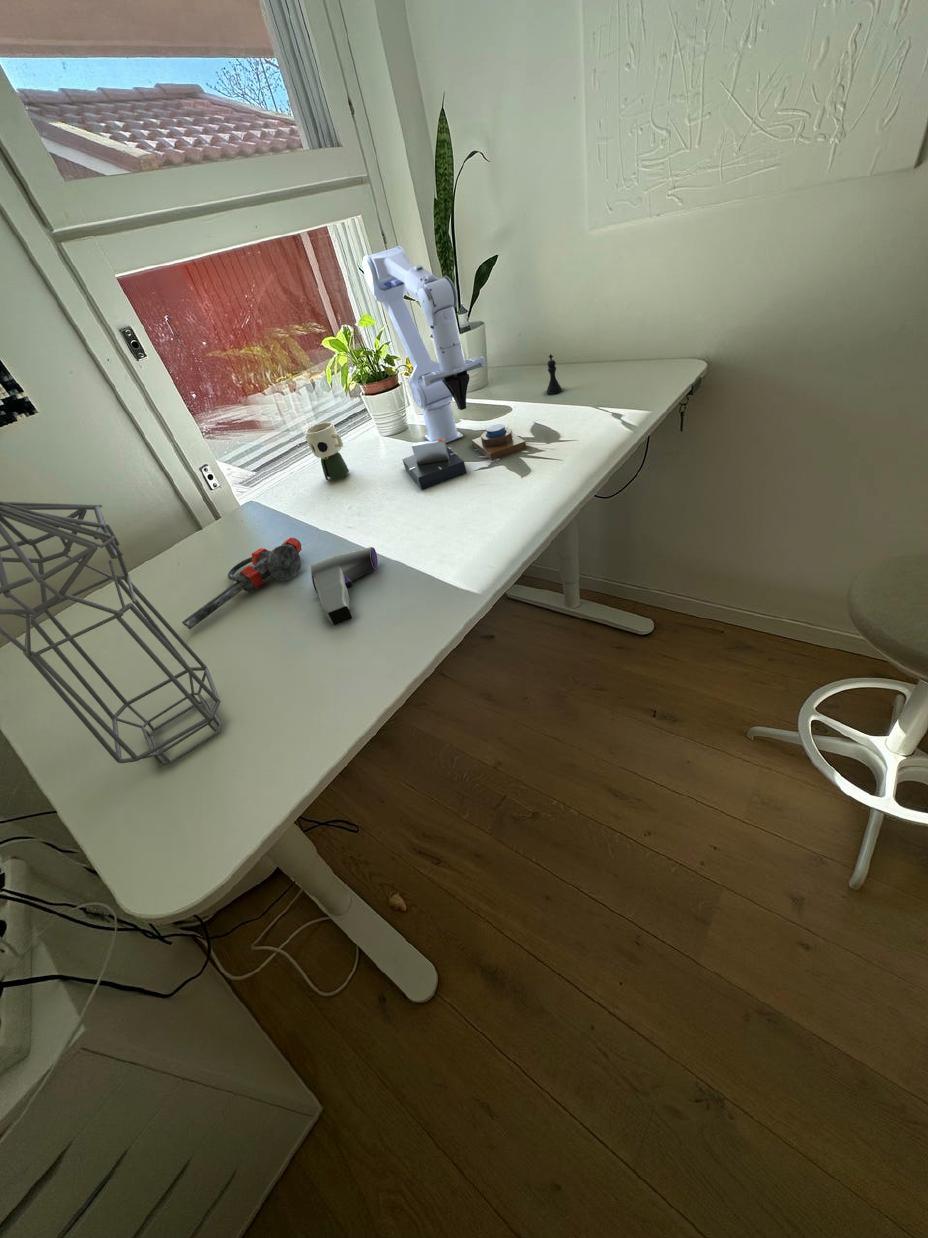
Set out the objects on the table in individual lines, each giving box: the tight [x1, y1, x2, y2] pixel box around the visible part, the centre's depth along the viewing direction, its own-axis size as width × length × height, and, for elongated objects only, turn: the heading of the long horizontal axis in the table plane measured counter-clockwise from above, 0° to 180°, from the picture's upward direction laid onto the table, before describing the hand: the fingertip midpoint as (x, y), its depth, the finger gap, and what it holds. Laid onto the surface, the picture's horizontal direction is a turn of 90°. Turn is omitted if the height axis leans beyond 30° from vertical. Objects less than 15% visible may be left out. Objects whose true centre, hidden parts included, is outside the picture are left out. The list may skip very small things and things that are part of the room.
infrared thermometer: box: [310, 546, 379, 626], centre depth 88 cm, size 5×12×15 cm
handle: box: [411, 438, 449, 465], centre depth 118 cm, size 8×2×5 cm, turn 81°
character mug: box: [304, 421, 350, 482], centre depth 129 cm, size 11×7×13 cm, turn 64°
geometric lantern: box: [0, 501, 223, 767], centre depth 61 cm, size 16×16×35 cm
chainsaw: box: [181, 537, 303, 630], centre depth 98 cm, size 6×26×15 cm
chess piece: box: [546, 354, 563, 395], centre depth 145 cm, size 4×4×10 cm
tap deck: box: [402, 446, 468, 491], centre depth 121 cm, size 14×12×3 cm
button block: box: [471, 426, 527, 462], centre depth 124 cm, size 12×9×4 cm
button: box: [485, 423, 506, 438], centre depth 123 cm, size 4×4×2 cm
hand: (462, 408), depth 121 cm, fingers closed
